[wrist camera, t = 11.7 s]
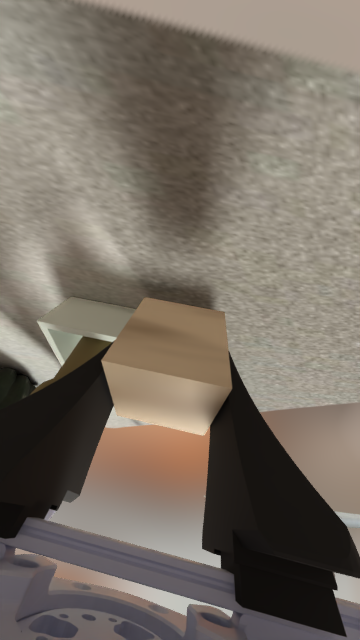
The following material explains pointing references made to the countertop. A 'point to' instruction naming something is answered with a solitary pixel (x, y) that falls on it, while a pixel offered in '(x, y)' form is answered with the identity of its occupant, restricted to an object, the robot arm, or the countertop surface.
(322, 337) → the countertop surface
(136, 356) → the maple cube
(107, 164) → the countertop surface
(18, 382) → the squash
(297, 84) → the countertop surface
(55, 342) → the tote
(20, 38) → the countertop surface
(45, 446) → the robot arm
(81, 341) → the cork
